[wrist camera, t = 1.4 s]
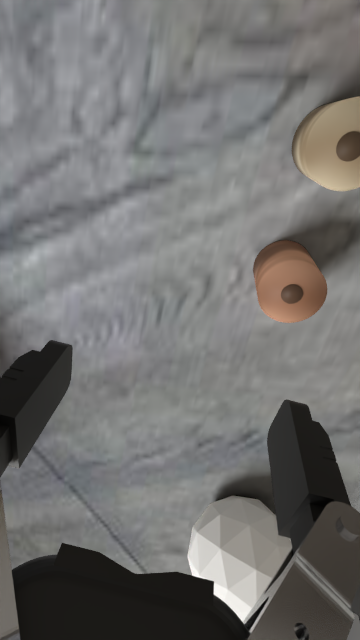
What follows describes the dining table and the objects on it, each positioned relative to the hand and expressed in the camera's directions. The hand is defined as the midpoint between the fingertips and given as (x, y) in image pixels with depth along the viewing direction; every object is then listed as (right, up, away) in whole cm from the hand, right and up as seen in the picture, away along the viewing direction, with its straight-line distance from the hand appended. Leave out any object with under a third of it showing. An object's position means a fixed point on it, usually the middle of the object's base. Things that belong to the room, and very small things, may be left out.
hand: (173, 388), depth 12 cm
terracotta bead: (+9, +7, +17) cm, 21 cm away
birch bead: (+11, +16, +12) cm, 23 cm away
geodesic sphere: (+9, -24, +36) cm, 44 cm away
